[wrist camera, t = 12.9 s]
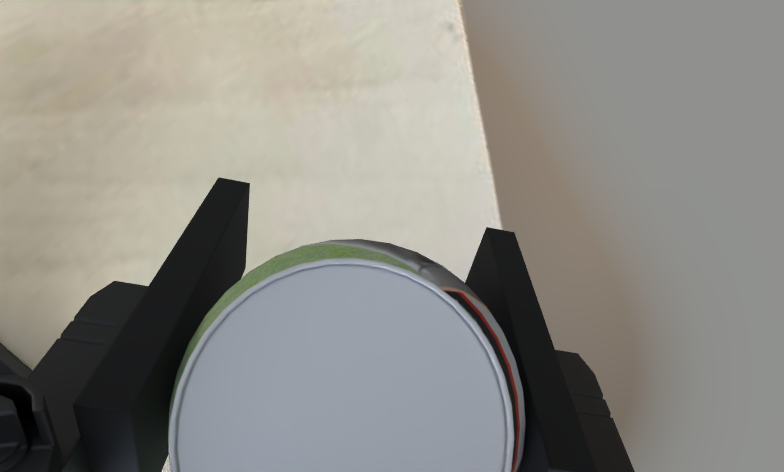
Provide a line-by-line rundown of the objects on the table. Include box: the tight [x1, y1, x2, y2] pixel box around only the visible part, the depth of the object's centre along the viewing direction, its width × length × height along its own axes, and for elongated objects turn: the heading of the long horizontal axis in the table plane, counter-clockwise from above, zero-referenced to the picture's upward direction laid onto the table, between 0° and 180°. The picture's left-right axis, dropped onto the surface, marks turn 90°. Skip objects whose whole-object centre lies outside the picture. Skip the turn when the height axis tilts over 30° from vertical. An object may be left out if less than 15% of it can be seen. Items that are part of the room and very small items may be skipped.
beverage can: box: [168, 239, 526, 472], centre depth 13 cm, size 6×7×12 cm
